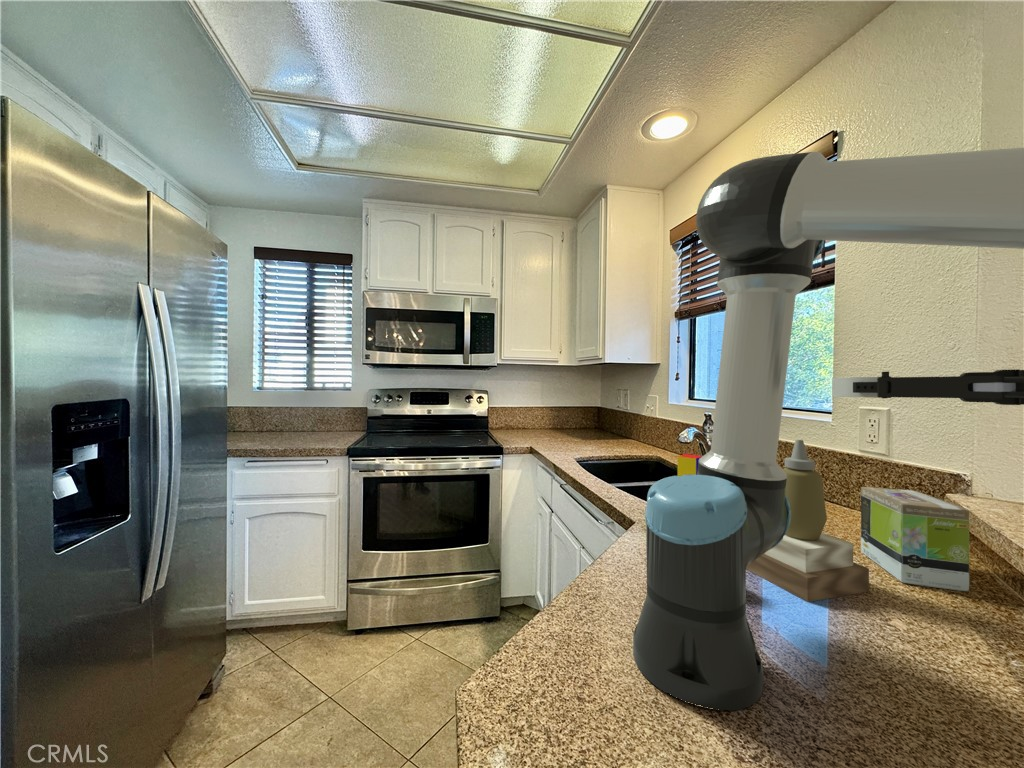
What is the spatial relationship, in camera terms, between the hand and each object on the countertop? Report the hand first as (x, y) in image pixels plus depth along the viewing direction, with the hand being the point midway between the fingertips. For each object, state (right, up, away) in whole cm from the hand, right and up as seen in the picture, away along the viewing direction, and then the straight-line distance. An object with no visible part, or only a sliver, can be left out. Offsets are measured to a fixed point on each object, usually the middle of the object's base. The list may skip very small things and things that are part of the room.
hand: (868, 387), depth 58 cm
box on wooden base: (+2, -36, +16) cm, 40 cm away
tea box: (+26, -37, +19) cm, 49 cm away
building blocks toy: (-6, -37, +39) cm, 54 cm away
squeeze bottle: (+2, -28, +16) cm, 33 cm away
